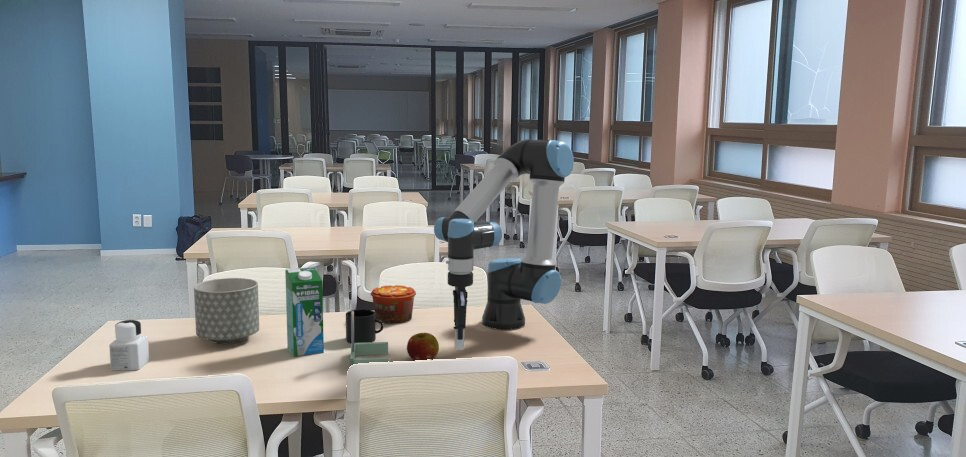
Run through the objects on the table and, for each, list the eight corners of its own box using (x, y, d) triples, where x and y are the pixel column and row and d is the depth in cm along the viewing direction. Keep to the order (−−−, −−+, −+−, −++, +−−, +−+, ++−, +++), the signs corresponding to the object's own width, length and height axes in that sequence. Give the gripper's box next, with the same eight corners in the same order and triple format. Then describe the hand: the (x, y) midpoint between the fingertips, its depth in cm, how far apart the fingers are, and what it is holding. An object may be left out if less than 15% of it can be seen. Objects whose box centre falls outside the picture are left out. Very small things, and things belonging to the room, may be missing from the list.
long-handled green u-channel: (388, 352, 217) (387, 303, 215) (389, 370, 202) (389, 317, 200) (351, 354, 215) (350, 304, 213) (350, 372, 200) (349, 319, 198)
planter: (271, 340, 227) (269, 285, 224) (214, 353, 213) (211, 295, 211) (241, 327, 240) (239, 275, 237) (185, 339, 226) (183, 284, 223)
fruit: (401, 362, 209) (401, 336, 207) (415, 353, 217) (415, 328, 216) (430, 367, 205) (431, 340, 204) (443, 357, 214) (443, 332, 212)
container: (122, 361, 206) (119, 318, 204) (149, 360, 207) (147, 317, 205) (110, 370, 198) (107, 325, 196) (139, 370, 199) (136, 325, 197)
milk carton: (294, 356, 212) (291, 275, 208) (287, 348, 220) (285, 269, 216) (323, 352, 216) (322, 272, 212) (316, 344, 224) (314, 266, 220)
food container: (378, 312, 262) (377, 283, 260) (420, 314, 260) (420, 285, 258) (365, 324, 246) (364, 294, 244) (410, 327, 244) (410, 296, 242)
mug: (381, 345, 224) (381, 317, 223) (343, 344, 224) (343, 316, 223) (385, 336, 233) (385, 309, 232) (348, 335, 233) (348, 308, 232)
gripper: (445, 267, 214) (444, 342, 218) (450, 276, 202) (449, 356, 205) (469, 266, 216) (468, 341, 219) (476, 276, 203) (475, 355, 207)
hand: (459, 348), depth 212 cm, fingers closed
